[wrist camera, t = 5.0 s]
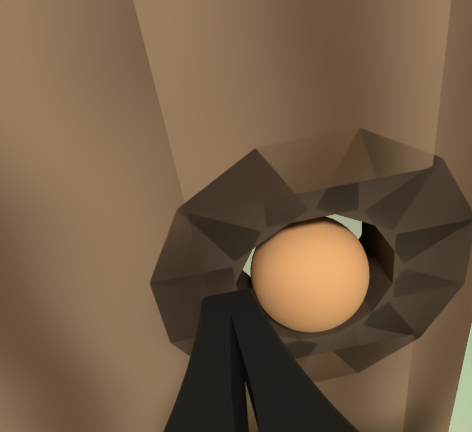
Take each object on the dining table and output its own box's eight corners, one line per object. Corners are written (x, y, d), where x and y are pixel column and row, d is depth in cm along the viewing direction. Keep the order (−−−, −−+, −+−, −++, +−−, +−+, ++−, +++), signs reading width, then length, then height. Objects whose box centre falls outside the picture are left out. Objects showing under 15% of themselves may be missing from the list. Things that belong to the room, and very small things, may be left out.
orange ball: (370, 263, 15) (270, 267, 16) (362, 184, 13) (247, 195, 14) (375, 356, 13) (257, 354, 14) (367, 280, 10) (227, 283, 11)
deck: (-6, 486, 20) (-26, 549, 18) (-540, -86, 8) (-782, -91, 6) (416, 398, 21) (444, 450, 19) (505, -266, 9) (611, -328, 7)
